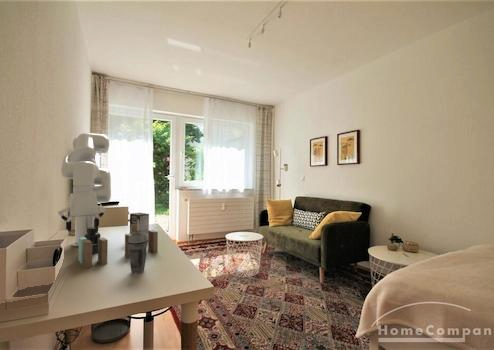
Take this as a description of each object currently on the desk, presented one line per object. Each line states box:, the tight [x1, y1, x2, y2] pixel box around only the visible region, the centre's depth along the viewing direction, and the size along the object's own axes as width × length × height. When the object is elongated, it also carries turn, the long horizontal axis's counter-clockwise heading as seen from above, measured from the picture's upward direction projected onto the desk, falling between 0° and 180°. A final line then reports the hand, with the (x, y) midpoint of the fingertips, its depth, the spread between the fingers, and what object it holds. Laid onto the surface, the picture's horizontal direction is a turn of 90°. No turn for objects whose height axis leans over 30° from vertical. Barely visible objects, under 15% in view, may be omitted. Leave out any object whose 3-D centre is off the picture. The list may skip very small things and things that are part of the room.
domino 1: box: [82, 240, 93, 269], centre depth 98 cm, size 6×2×10 cm, turn 46°
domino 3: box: [124, 232, 131, 260], centre depth 110 cm, size 6×2×10 cm, turn 46°
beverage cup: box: [128, 219, 148, 275], centre depth 92 cm, size 7×7×20 cm
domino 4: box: [147, 229, 159, 254], centre depth 117 cm, size 6×2×10 cm, turn 46°
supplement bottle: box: [84, 227, 101, 255], centre depth 115 cm, size 7×7×12 cm
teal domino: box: [77, 237, 87, 265], centre depth 103 cm, size 6×2×10 cm, turn 46°
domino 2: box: [97, 237, 109, 266], centre depth 102 cm, size 6×2×10 cm, turn 46°
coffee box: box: [129, 212, 150, 237], centre depth 135 cm, size 9×6×16 cm
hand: (83, 229), depth 103 cm, fingers open, 9 cm apart
